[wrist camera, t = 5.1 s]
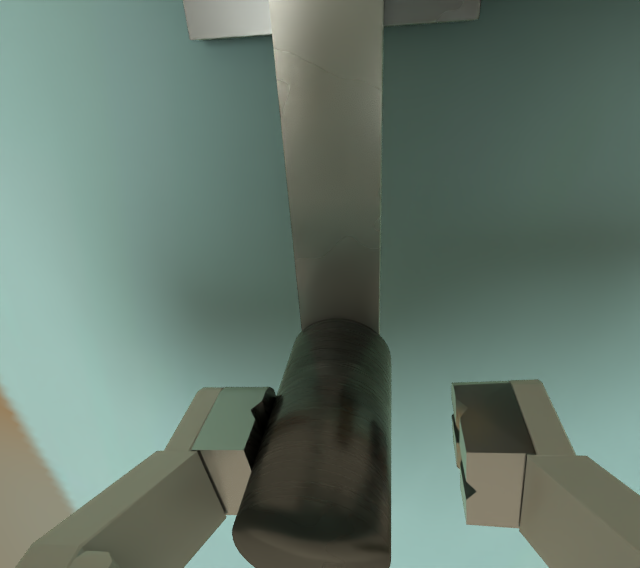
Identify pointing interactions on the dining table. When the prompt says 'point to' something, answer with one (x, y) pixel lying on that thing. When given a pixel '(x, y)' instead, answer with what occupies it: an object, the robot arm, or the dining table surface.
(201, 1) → the crank base
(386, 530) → the crank
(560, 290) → the dining table surface
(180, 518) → the robot arm
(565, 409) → the dining table surface
